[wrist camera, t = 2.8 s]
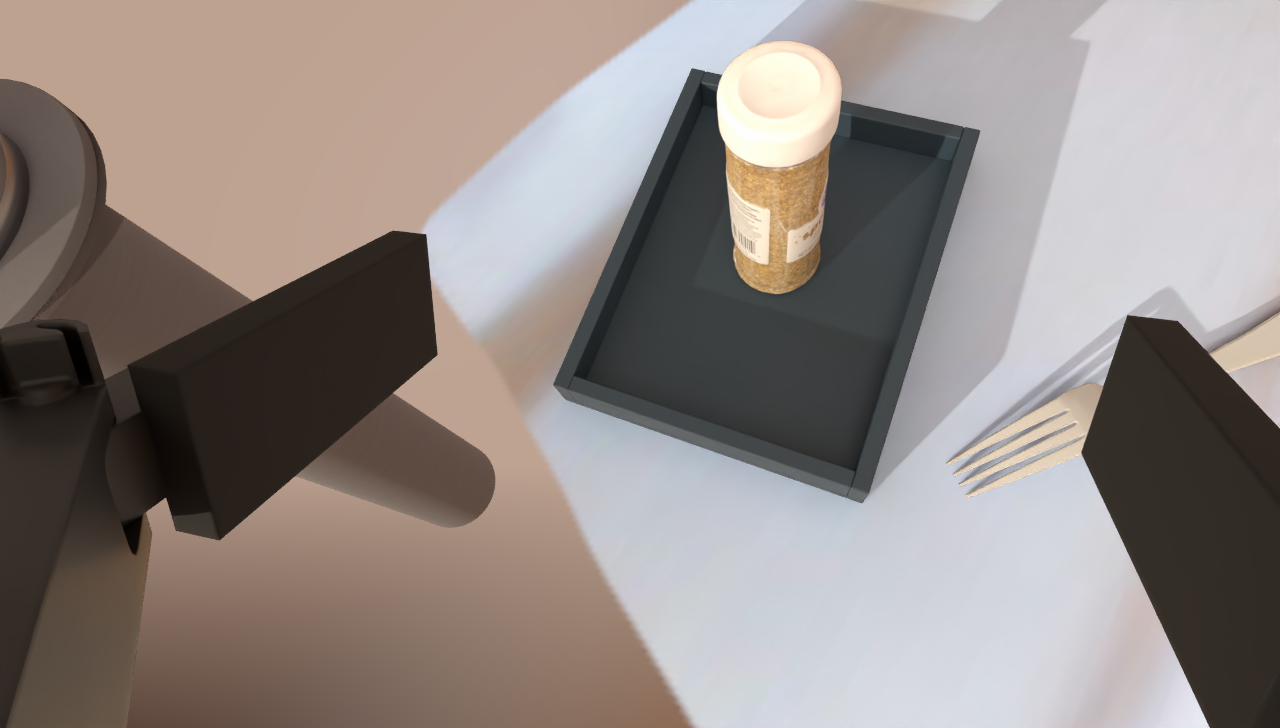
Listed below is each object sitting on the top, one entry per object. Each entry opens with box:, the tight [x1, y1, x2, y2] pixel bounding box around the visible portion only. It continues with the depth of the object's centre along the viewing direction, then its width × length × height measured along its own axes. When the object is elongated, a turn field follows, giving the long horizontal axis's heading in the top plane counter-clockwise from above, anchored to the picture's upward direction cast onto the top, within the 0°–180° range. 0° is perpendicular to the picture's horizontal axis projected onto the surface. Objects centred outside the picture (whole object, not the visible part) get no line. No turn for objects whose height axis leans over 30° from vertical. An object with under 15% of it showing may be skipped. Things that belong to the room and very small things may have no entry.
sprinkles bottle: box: [717, 41, 842, 294], centre depth 34 cm, size 5×5×14 cm
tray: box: [553, 68, 980, 503], centre depth 39 cm, size 16×20×2 cm
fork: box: [947, 312, 1280, 498], centre depth 35 cm, size 3×21×3 cm, turn 113°
